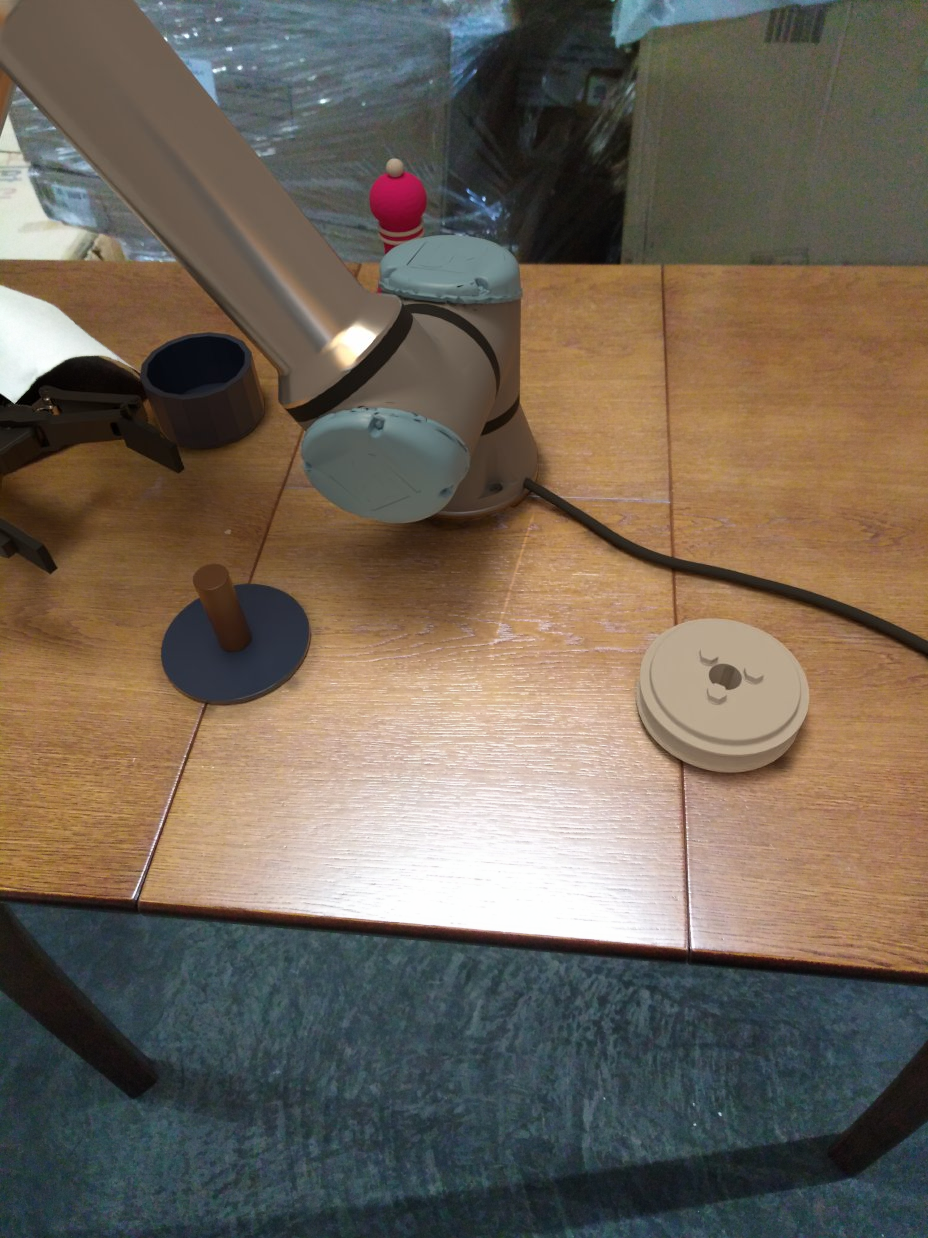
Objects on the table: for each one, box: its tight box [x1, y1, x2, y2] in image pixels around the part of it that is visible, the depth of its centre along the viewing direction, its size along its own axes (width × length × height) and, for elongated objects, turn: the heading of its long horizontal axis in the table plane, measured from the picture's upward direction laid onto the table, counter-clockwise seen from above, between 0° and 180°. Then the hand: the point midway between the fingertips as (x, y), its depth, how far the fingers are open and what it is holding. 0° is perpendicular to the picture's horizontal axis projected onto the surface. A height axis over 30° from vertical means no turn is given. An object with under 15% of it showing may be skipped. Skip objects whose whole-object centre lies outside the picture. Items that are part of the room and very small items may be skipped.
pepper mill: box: [368, 158, 428, 293], centre depth 98 cm, size 7×7×20 cm
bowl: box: [139, 331, 266, 450], centre depth 95 cm, size 11×11×6 cm
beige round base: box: [635, 617, 810, 773], centre depth 69 cm, size 13×13×5 cm
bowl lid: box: [160, 563, 311, 706], centre depth 73 cm, size 13×13×9 cm
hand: (115, 507), depth 72 cm, fingers open, 13 cm apart
